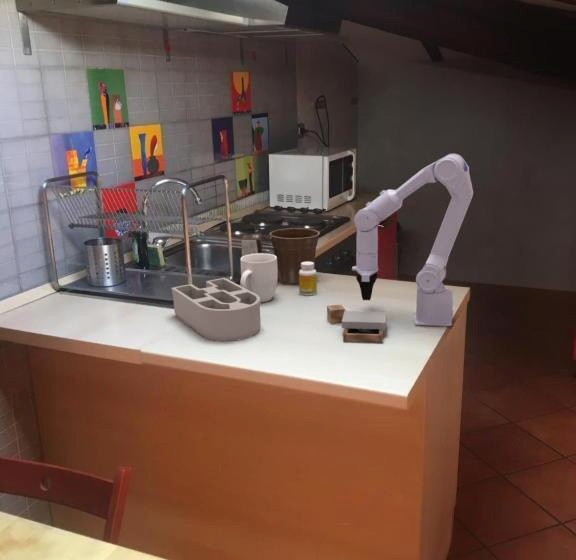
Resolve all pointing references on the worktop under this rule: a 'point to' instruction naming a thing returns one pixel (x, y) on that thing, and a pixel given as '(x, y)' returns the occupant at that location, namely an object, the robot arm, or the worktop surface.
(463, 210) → the robot arm
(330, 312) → the beech block
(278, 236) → the plant pot
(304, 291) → the supplement bottle
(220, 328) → the compartment caddy
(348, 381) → the worktop surface
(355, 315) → the lid
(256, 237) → the coffee box
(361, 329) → the teal disc
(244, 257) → the mug
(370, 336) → the frame
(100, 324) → the worktop surface
